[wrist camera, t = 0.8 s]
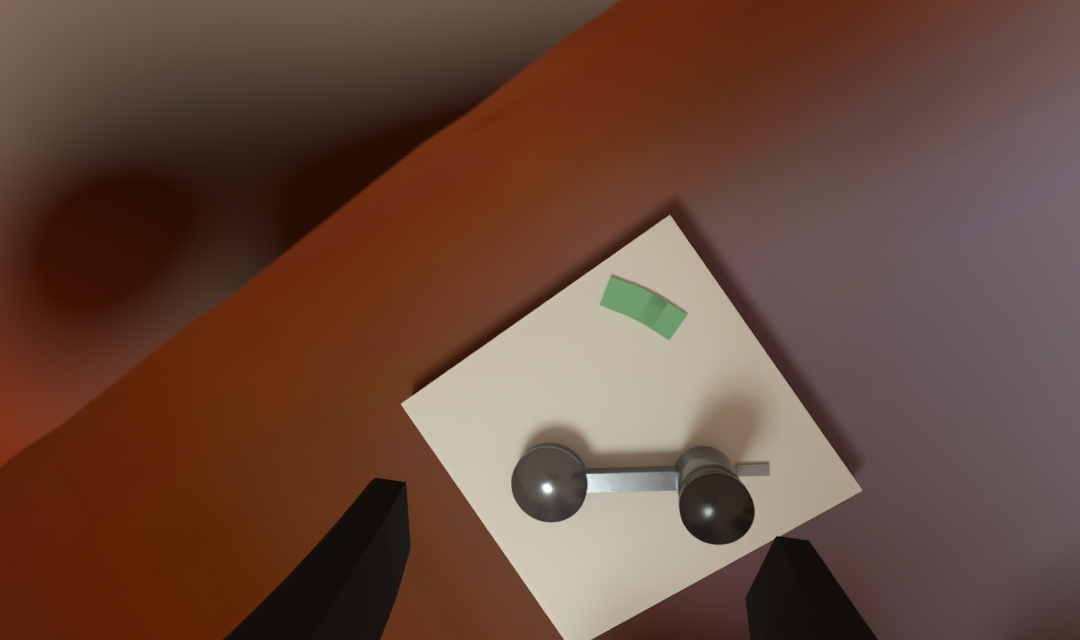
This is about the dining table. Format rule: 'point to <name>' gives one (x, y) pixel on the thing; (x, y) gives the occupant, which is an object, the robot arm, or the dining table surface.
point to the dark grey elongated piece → (638, 488)
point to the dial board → (627, 430)
